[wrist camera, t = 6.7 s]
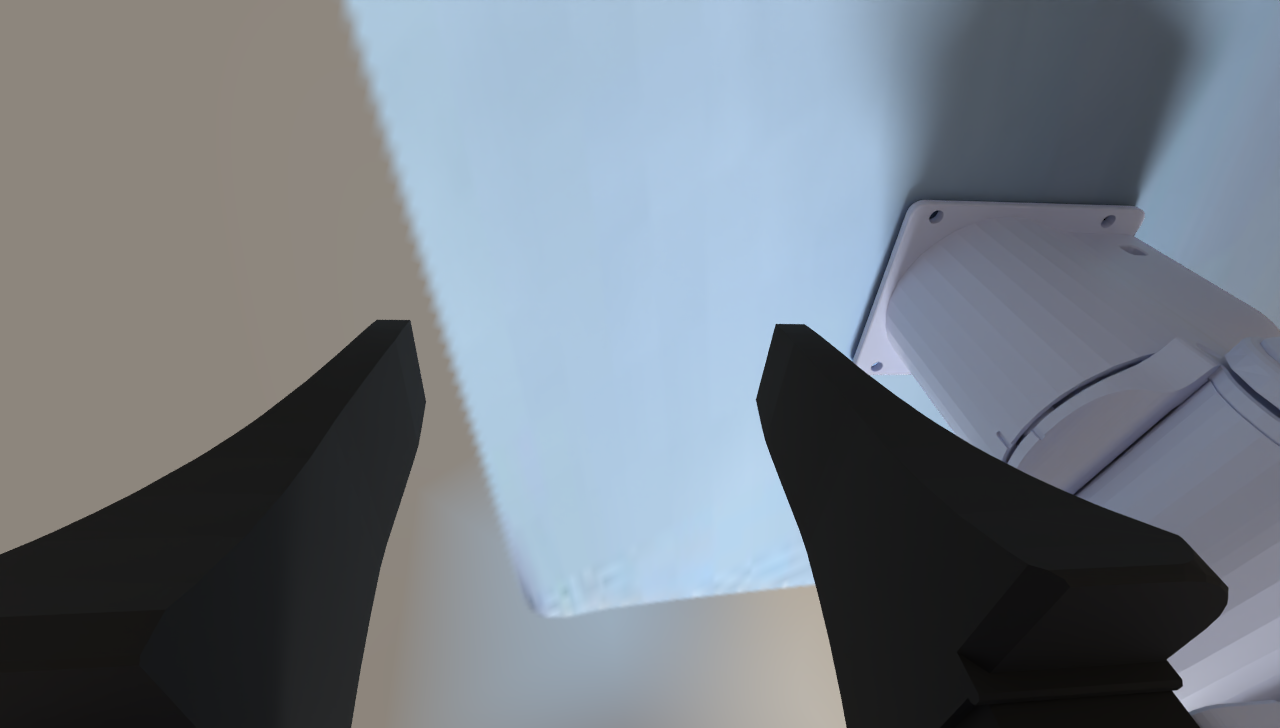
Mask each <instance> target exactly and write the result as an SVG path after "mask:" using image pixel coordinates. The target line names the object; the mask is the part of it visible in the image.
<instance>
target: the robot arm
mask: <svg viewBox="0 0 1280 728" xmlns="http://www.w3.org/2000/svg"><path fill="white" fill-rule="evenodd" d="M937 210H938V213H937V215H936V216H935V217H934V218H932V219H929V217H930V215H931V214H932V213H933V212H935V211H937ZM1107 216H1108V217H1107ZM1106 217H1107V218H1106ZM1104 218H1106V219H1105V220H1104ZM1144 218H1145V213H1144V211H1143V210H1141V209H1139V208H1138V207H1135V206H1119V205H1085V204H1050V203H1016V202H981V201H946V200H920V201H917V202H915V203H914V204H912V205H911V206H910V207H909V209H908V211H907V213H906V215H905V218H904V221H903V224H902V226H901V229H900V232H899V235H898V237H897V240H896V243H895V246H894V248H893V251H892V254H891V257H890V259H889V262H888V265H887V268H886V270H885V273H884V276H883V279H882V281H881V284H880V287H879V290H878V293H877V295H876V298H875V301H874V304H873V306H872V309H871V312H870V315H869V317H868V320H867V323H866V326H865V328H864V331H863V334H862V337H861V339H860V342H859V345H858V348H857V350H856V353H855V356H854V359H853V361H851V360H850V359H848V358H847V357H846V356H845V355H843V354H842V353H841V352H840V351H838V350H837V349H836V348H835V347H834V346H832V345H831V344H830V343H829V342H827V341H826V340H825V339H824V338H822V337H821V336H820V335H818V334H817V333H816V332H814V331H813V330H812V329H810V328H809V327H808V326H806V325H805V324H776V325H775V329H774V333H773V337H772V341H771V344H770V348H769V352H768V356H767V360H766V363H765V367H764V371H763V375H762V379H761V383H760V386H759V390H758V394H757V398H756V402H757V406H758V411H759V416H760V421H761V425H762V429H763V433H764V437H765V441H766V444H767V447H768V449H769V452H770V455H771V458H772V460H773V463H774V465H775V468H776V471H777V473H778V476H779V479H780V481H781V484H782V486H783V489H784V491H785V494H786V497H787V499H788V502H789V504H790V507H791V509H792V512H793V515H794V517H795V520H796V522H797V525H798V528H799V530H800V533H801V536H802V539H803V542H804V545H805V548H806V551H807V554H808V558H809V562H810V566H811V569H812V573H813V577H814V581H815V584H816V588H817V592H818V596H819V600H820V604H821V608H822V613H823V617H824V620H825V625H826V629H827V633H828V637H829V642H830V646H831V651H832V656H833V661H834V665H835V670H836V675H837V680H838V684H839V689H840V694H841V699H842V705H843V710H844V716H845V721H846V727H847V728H1280V331H1279V329H1278V328H1277V327H1276V326H1275V325H1274V323H1273V322H1272V321H1270V320H1269V319H1268V318H1267V317H1266V316H1265V315H1263V314H1262V313H1261V312H1259V311H1258V310H1256V309H1255V308H1253V307H1251V306H1250V305H1248V304H1246V303H1245V302H1243V301H1241V300H1239V299H1238V298H1236V297H1234V296H1233V295H1231V294H1229V293H1228V292H1226V291H1224V290H1223V289H1221V288H1219V287H1218V286H1216V285H1214V284H1213V283H1211V282H1209V281H1208V280H1206V279H1204V278H1203V277H1201V276H1199V275H1198V274H1196V273H1194V272H1193V271H1191V270H1189V269H1188V268H1186V267H1184V266H1183V265H1181V264H1179V263H1178V262H1176V261H1174V260H1173V259H1171V258H1169V257H1168V256H1166V255H1164V254H1163V253H1161V252H1159V251H1158V250H1156V249H1154V248H1152V247H1151V246H1149V245H1147V244H1146V243H1144V242H1142V241H1141V240H1139V239H1137V238H1136V237H1134V235H1135V234H1136V232H1137V230H1138V229H1139V227H1140V226H1141V224H1142V222H1143V220H1144ZM1103 220H1104V221H1103ZM1102 221H1103V222H1102ZM877 362H878V363H877ZM874 363H877V364H876V365H874V366H872V365H873V364H874ZM870 375H913V377H914V378H915V379H916V381H917V382H918V384H919V385H920V386H921V388H922V389H923V391H924V392H925V393H926V395H927V396H928V398H929V399H930V400H931V402H932V403H933V404H934V406H935V407H936V409H937V410H938V411H939V413H940V414H941V416H942V417H943V418H944V420H945V421H946V422H947V424H948V425H949V427H950V428H951V429H952V431H953V432H954V434H953V433H951V432H950V431H948V430H946V429H945V428H943V427H941V426H940V425H938V424H937V423H935V422H934V421H932V420H931V419H929V418H927V417H926V416H924V415H923V414H921V413H920V412H919V411H917V410H916V409H914V408H913V407H912V406H910V405H909V404H907V403H906V402H904V401H903V400H902V399H900V398H899V397H897V396H896V395H895V394H893V393H892V392H891V391H889V390H888V389H887V388H885V387H884V386H883V385H881V384H880V383H879V382H877V381H876V380H875V379H873V378H872V377H871V376H870ZM425 404H426V400H425V394H424V389H423V384H422V379H421V374H420V368H419V363H418V358H417V353H416V348H415V342H414V337H413V332H412V327H411V321H410V320H376V321H375V322H374V323H372V324H371V325H370V326H369V327H368V328H367V329H365V330H364V331H363V332H362V333H361V334H360V335H359V336H358V337H356V338H355V339H354V340H353V341H352V342H351V343H350V344H349V345H348V346H346V347H345V348H344V349H343V350H342V351H341V352H340V353H338V354H337V355H336V356H335V357H334V358H333V359H331V360H330V361H329V362H328V363H327V364H326V365H325V366H323V367H322V368H321V369H320V370H319V371H318V372H317V373H315V374H314V375H313V376H312V377H310V378H309V379H308V380H307V381H306V382H305V383H303V384H302V385H301V386H299V387H298V388H297V389H295V390H294V391H293V392H292V393H290V394H289V395H288V396H286V397H285V398H284V399H283V400H281V401H280V402H279V403H277V404H276V405H275V406H273V407H272V408H271V409H270V410H268V411H267V412H266V413H264V414H263V415H262V416H260V417H259V418H258V419H256V420H255V421H253V422H252V423H250V424H249V425H248V426H246V427H245V428H243V429H242V430H240V431H239V432H237V433H236V434H234V435H233V436H231V437H230V438H228V439H227V440H225V441H223V442H222V443H220V444H219V445H217V446H216V447H214V448H212V449H211V450H210V451H208V452H206V453H204V454H203V455H201V456H200V457H198V458H196V459H195V460H193V461H191V462H189V463H188V464H186V465H184V466H182V467H180V468H179V469H177V470H175V471H173V472H171V473H169V474H168V475H166V476H164V477H162V478H161V479H159V480H157V481H155V482H153V483H152V484H150V485H148V486H146V487H144V488H143V489H141V490H139V491H137V492H135V493H133V494H131V495H130V496H128V497H125V498H123V499H121V500H119V501H117V502H115V503H113V504H111V505H109V506H107V507H105V508H103V509H101V510H99V511H97V512H95V513H94V514H91V515H89V516H87V517H85V518H82V519H80V520H78V521H76V522H74V523H72V524H70V525H68V526H65V527H63V528H61V529H59V530H57V531H55V532H53V533H50V534H48V535H45V536H43V537H41V538H39V539H37V540H34V541H32V542H30V543H27V544H25V545H22V546H20V547H17V548H15V549H13V550H10V551H8V552H5V553H3V554H0V728H351V724H352V718H353V712H354V706H355V699H356V694H357V688H358V681H359V675H360V669H361V664H362V658H363V653H364V648H365V642H366V637H367V632H368V626H369V621H370V616H371V611H372V606H373V601H374V596H375V591H376V586H377V582H378V577H379V572H380V567H381V563H382V560H383V556H384V552H385V549H386V545H387V542H388V539H389V536H390V533H391V530H392V527H393V524H394V520H395V517H396V514H397V511H398V508H399V505H400V502H401V499H402V496H403V493H404V489H405V487H406V483H407V480H408V477H409V474H410V471H411V468H412V465H413V461H414V458H415V455H416V452H417V448H418V445H419V439H420V433H421V428H422V422H423V416H424V410H425Z"/></svg>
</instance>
